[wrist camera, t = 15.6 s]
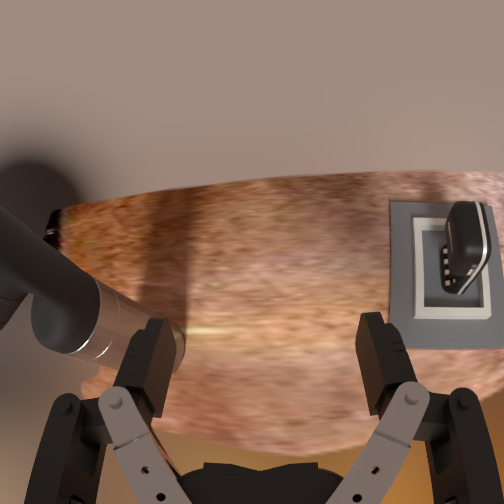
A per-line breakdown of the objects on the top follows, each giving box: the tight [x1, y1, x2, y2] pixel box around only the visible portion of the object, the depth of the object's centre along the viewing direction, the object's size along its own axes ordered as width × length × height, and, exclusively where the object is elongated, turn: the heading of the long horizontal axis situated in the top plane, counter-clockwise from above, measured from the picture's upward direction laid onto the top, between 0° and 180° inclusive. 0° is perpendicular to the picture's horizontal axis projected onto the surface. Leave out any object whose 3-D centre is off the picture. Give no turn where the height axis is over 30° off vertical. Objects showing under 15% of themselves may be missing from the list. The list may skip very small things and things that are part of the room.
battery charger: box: [440, 201, 492, 295], centre depth 30 cm, size 7×4×11 cm, turn 170°
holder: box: [389, 202, 504, 350], centre depth 34 cm, size 16×20×3 cm
